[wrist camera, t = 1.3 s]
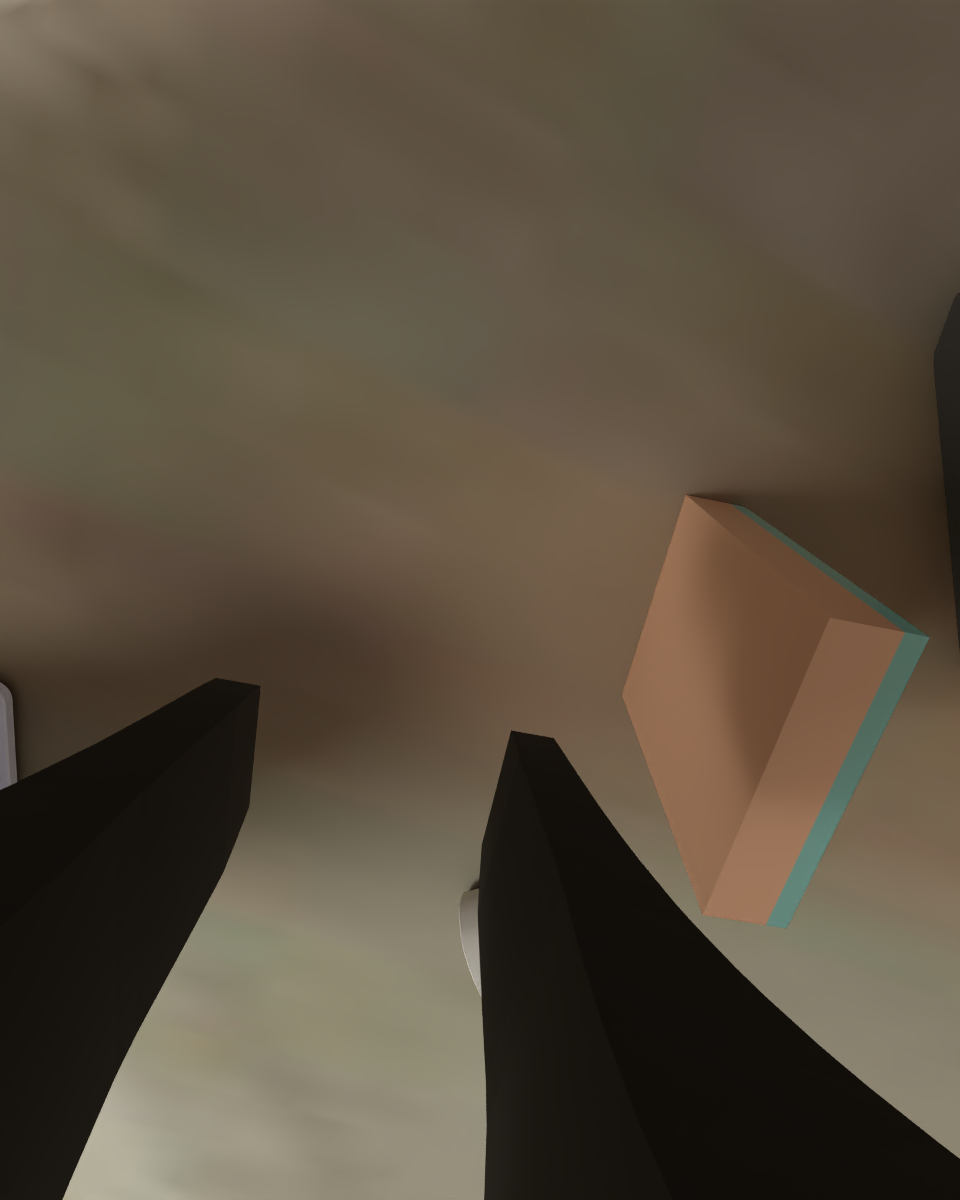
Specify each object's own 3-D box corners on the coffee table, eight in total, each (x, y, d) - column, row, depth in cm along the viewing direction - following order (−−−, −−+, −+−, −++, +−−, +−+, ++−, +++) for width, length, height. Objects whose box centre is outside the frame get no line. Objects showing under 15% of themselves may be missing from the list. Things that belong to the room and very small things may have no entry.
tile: (621, 694, 20) (702, 914, 12) (685, 494, 18) (829, 618, 10) (675, 704, 20) (786, 928, 13) (744, 507, 18) (930, 637, 10)
